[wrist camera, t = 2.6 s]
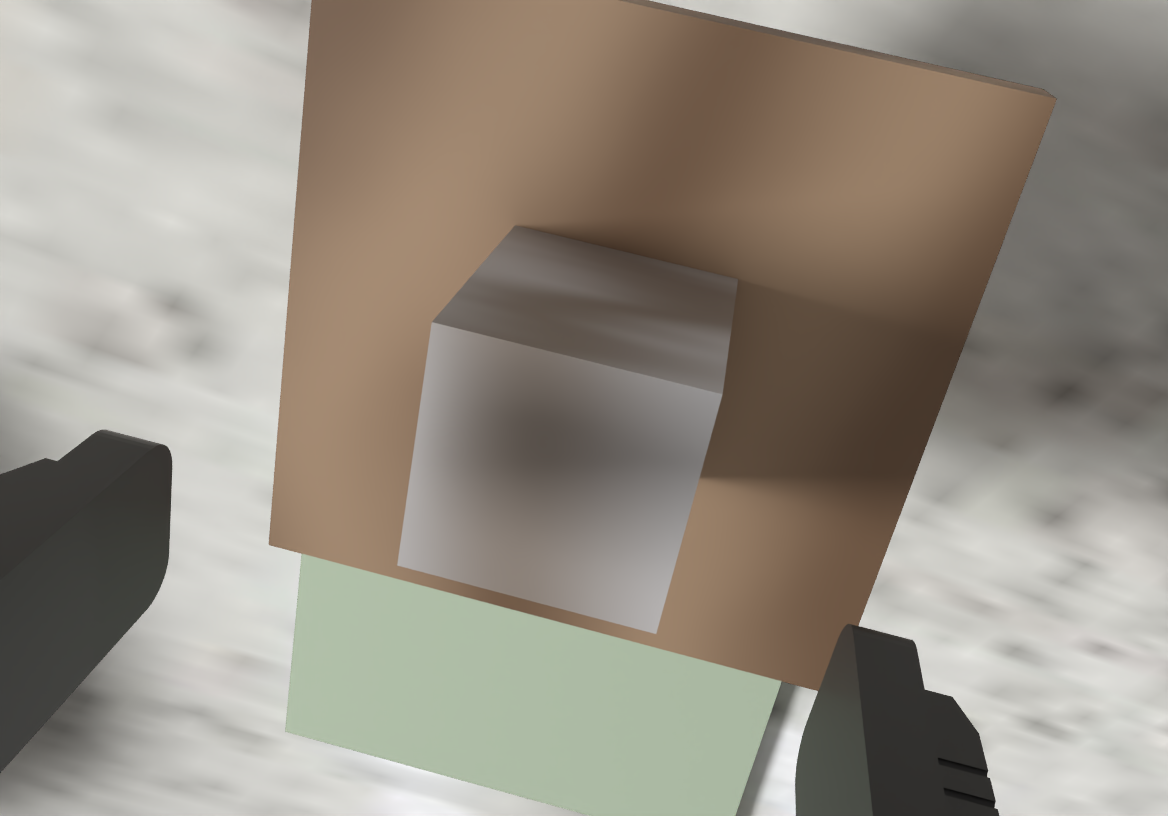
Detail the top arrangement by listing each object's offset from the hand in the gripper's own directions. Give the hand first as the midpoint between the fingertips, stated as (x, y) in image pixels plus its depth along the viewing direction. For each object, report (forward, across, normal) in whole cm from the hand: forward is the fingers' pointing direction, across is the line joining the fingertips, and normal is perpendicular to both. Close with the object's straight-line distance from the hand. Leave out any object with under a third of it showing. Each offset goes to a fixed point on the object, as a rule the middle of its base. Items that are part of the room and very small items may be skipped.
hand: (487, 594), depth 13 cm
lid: (+9, 0, 0) cm, 9 cm away
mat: (+19, +1, +15) cm, 24 cm away
